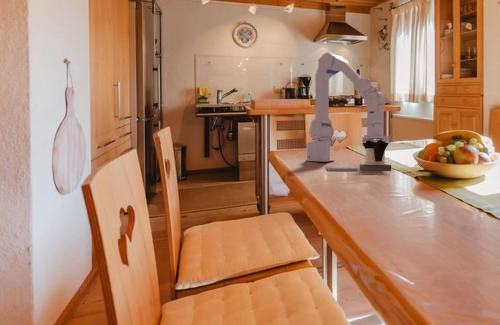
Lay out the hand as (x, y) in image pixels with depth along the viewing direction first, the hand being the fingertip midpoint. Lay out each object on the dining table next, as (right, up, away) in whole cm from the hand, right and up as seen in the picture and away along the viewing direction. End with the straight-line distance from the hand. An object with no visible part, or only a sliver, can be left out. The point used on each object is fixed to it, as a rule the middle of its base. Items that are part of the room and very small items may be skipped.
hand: (374, 161), depth 122 cm
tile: (-12, -3, +1) cm, 13 cm away
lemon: (+17, -3, -4) cm, 18 cm away
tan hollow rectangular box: (0, -3, 0) cm, 3 cm away
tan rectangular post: (0, -3, 0) cm, 3 cm away
